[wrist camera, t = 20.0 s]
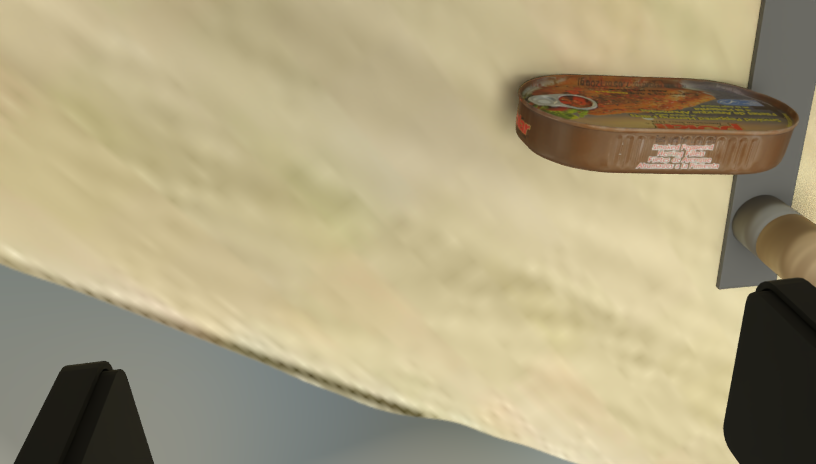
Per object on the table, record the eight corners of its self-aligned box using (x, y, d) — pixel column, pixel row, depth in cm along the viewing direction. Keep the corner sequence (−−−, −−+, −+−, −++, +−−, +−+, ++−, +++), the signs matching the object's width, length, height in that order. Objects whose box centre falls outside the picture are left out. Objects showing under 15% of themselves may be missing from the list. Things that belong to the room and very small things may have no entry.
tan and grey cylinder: (735, 197, 46) (810, 254, 39) (790, 192, 46) (874, 248, 39) (728, 247, 47) (798, 311, 40) (780, 242, 48) (859, 305, 40)
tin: (749, 80, 43) (838, 122, 35) (736, 131, 44) (818, 181, 37) (503, 70, 41) (542, 112, 34) (497, 123, 43) (533, 175, 35)
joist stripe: (771, -59, 40) (775, -59, 39) (840, -64, 40) (845, -63, 39) (716, 286, 49) (718, 289, 49) (772, 281, 49) (775, 283, 49)
